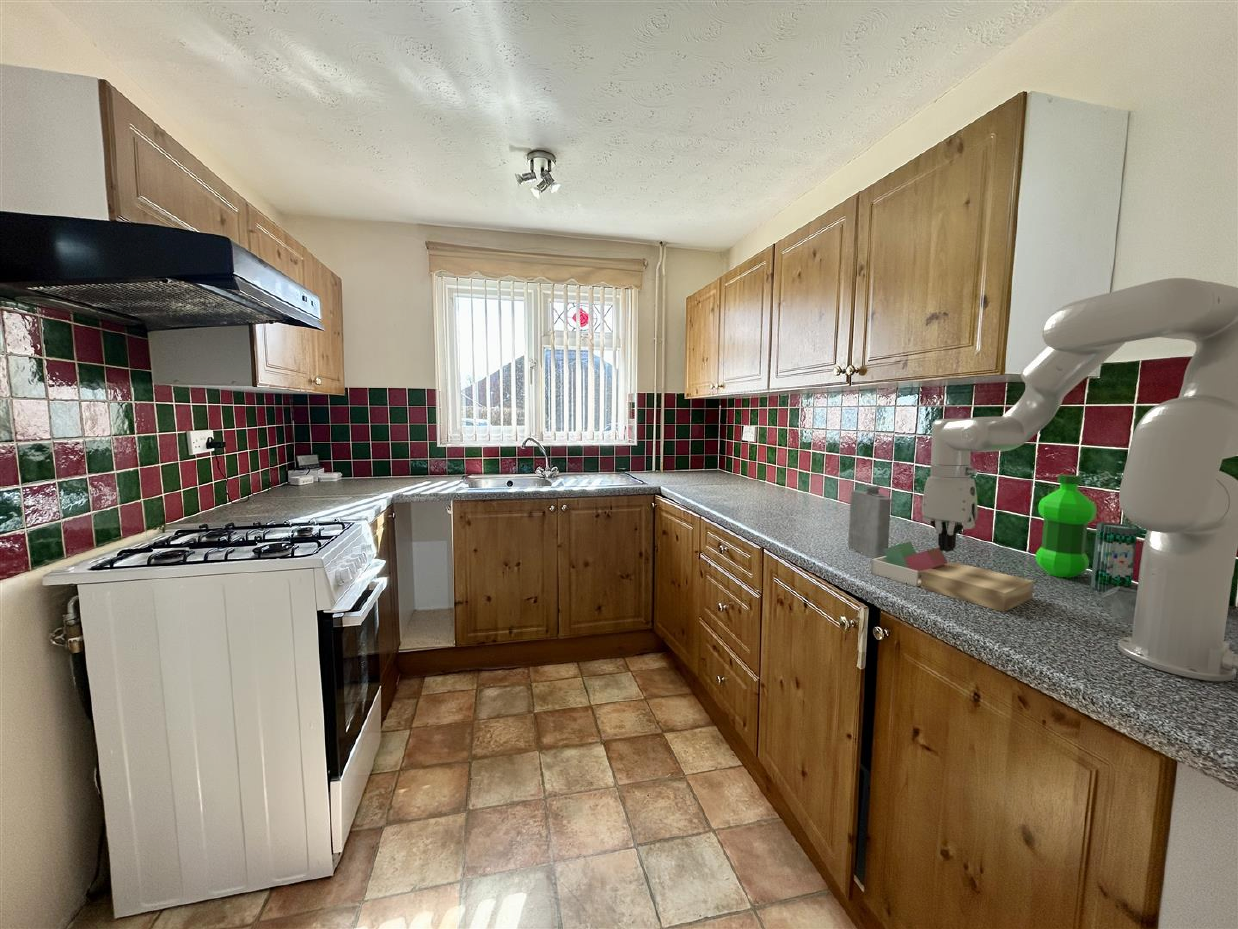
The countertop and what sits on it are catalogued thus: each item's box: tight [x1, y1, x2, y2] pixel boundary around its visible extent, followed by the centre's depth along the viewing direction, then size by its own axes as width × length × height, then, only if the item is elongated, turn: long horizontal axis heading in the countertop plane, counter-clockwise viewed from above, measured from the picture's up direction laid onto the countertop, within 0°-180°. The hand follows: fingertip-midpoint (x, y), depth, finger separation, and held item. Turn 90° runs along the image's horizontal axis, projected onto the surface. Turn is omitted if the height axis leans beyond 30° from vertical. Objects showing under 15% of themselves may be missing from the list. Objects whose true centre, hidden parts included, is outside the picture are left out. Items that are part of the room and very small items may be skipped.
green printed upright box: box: [1090, 522, 1139, 593], centre depth 110 cm, size 6×6×15 cm
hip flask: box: [847, 484, 892, 560], centre depth 137 cm, size 16×4×20 cm, turn 5°
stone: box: [1099, 586, 1137, 625], centre depth 95 cm, size 11×4×10 cm
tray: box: [870, 556, 924, 587], centre depth 120 cm, size 11×14×4 cm
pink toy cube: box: [904, 546, 949, 571], centre depth 117 cm, size 6×6×4 cm
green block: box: [883, 541, 917, 568], centre depth 121 cm, size 6×6×4 cm
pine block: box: [920, 561, 1035, 613], centre depth 108 cm, size 16×14×4 cm
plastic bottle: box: [1035, 474, 1098, 578], centre depth 120 cm, size 10×10×25 cm
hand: (946, 550), depth 113 cm, fingers closed
